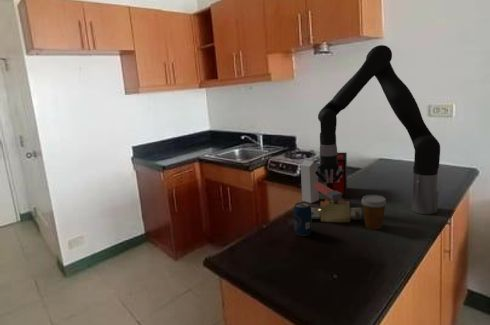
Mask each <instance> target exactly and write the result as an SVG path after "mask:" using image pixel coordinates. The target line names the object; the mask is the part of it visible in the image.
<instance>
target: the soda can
mask: <svg viewBox="0 0 490 325" xmlns="http://www.w3.org/2000/svg"><path fill="white" fill-rule="evenodd" d="M311 208H312V207H311V206H310V203H309V202H306V201H301V202H297V203H294V208H293V224H294V225H293V226H294V232H295V234H297V235H298V236H300V237H301V236H302V237H305V236H309V235H310V234H311V233H312V231H313V221H312V220H313V219H312V216H311Z"/></svg>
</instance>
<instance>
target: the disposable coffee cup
mask: <svg viewBox="0 0 490 325" xmlns="http://www.w3.org/2000/svg"><path fill="white" fill-rule="evenodd" d="M360 201H361V204H362V213H363V218H364V226H365V228H367V229H369V230H373V231H374V230H381V229H382V228H383V221H384V216H385V210H386V205H387V200H386V198H385V197H384V196H382V195H378V194H367V195H364V196H363V197H362V199H361V200H360Z"/></svg>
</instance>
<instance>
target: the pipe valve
mask: <svg viewBox="0 0 490 325" xmlns="http://www.w3.org/2000/svg"><path fill="white" fill-rule="evenodd" d="M319 201H320V200H319ZM311 216H312V220H320V222H322V223H323V222H324V223H350V222H351V221H352V220H356V221H357V220H363V207H351V206H350V201H349V200H348V201H347V200H345V198H341V199H336V200H332V199H330V198H324V201H323V200H321V201H320V207H311Z"/></svg>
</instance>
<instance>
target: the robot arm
mask: <svg viewBox="0 0 490 325" xmlns="http://www.w3.org/2000/svg"><path fill="white" fill-rule="evenodd" d="M392 59H393V52H392V50H391V48H390V47H389V46H387V45H384V44H381V45H377V46H374V47H373V48H372V49H370V51H368V52H367V55H366V58H365V60H364V62H363V63H362V65H361V66H360V68H359V69H358V70H357V71H356V72H355V73H354V74H353V76H351V78H350V79H349V80H348V81H347V82H346V83H345V84H344V85H343V86H342V87H341V88H340V89H339V90H338V91H337V93H336V94H335V95H334V96H332V97H333V98H332V99H331V100H329V101H328V103H326V104H325V105H324V106H323V107H322V108H321V109H320V110H319V112H318V114H317V119H318V121H319V123H320V133H319V158H320V159H319V162H320V166H319V167H318V170H316V172H315V174H316V175H317V176H318V179H320V180H321V182H323V183H326V186H327V187H329V188H330V189H332V190H333V182H336V181H337V180H338V179H339V178H340V177H341V175H342V174H343V170H341V169H340V168H339V166H338V161H337V153H338V146H337V145H338V144H337V135H336V134H337V133H336V132H337V125H338V124H337V122H338V121H337V115H338V114H340V113H341V111H344V110H345V109H346V108H348V107H349V105H350V104H351V103H352V102H353V100H354V99H355V98H356V97H357V96H358V95H359V93H360V92H361V91H362V90H363V88H364V87H365V86H366V85H367V84H368V82H370V81H371V79H372V78H374V77H375V79H376V80H377V82H378V83H379V85H380V86H381V89H382V91H383V93H384V95H385V98H386V100H387V102H388V104H389V106H390V108H391V109H392V110H391V111H393V113H394V115H395V117H396V118H397V119H398V121H399V122H400V123H401V124H402V125H403V127H404V129H406V131H407V133H408V135H409V137H410V140H411V143H412V146H413V149H414V162H413V167H412V168H413V171H412V173H413V174H412V192H411V193H412V195H411V198H412V199H411V210H412V212H414V213H416V214H421V215H432V214H438V209H439V208H438V206H439V204H438V203H439V191H438V190H437V189H438V178H439V176H438V175H439V168H440V161H441V160H440V159H441V144H440V142H439V140H438V139H437V138H436V137H435V135H433V133H432V132H431V130H430V129H429V128H428V126H427V125H426V123H425V121H424V118H423V117H422V116H423V115H422V113H421V110H420V108H419V105H418V103H417V101H416V98H415V97H414V95H413V94H412V92H411V89H410V88H409V86H407V85H406V84H405V82H403V81H402V79H400V77H399V76H398V75H397V73H396V72H395V69H394V68H393V66H392V63H391V61H392ZM337 171H338V175H337V176H336V177H335V178H334V179H333V175H335V173H336V172H337ZM322 174H323V175H324V176H325V177H324V176H323V175H322ZM329 175H330V182H329Z"/></svg>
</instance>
